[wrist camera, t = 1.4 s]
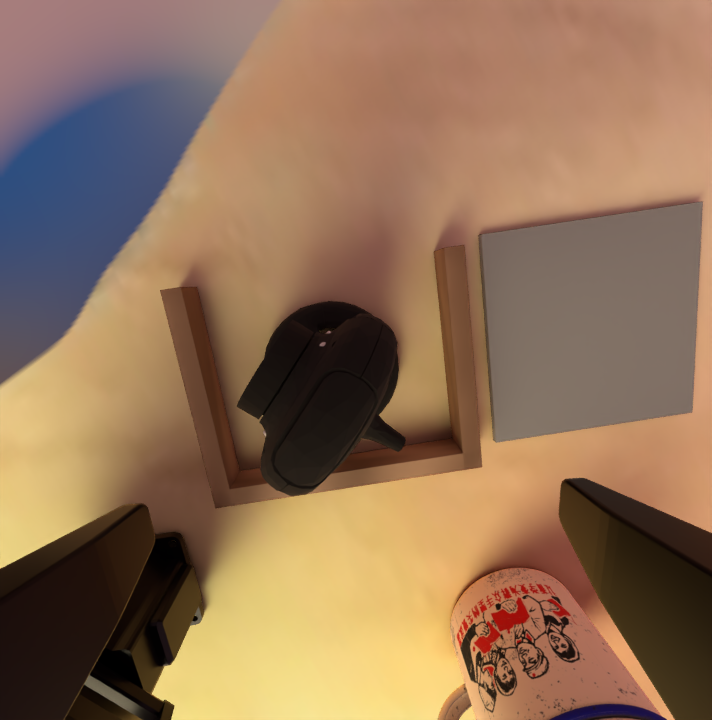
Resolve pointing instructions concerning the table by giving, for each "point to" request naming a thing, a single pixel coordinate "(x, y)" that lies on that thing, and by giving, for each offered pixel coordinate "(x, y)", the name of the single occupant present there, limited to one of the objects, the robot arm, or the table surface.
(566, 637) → the teacup with lid
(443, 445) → the holder
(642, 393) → the mat
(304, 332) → the webcam
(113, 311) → the table surface
